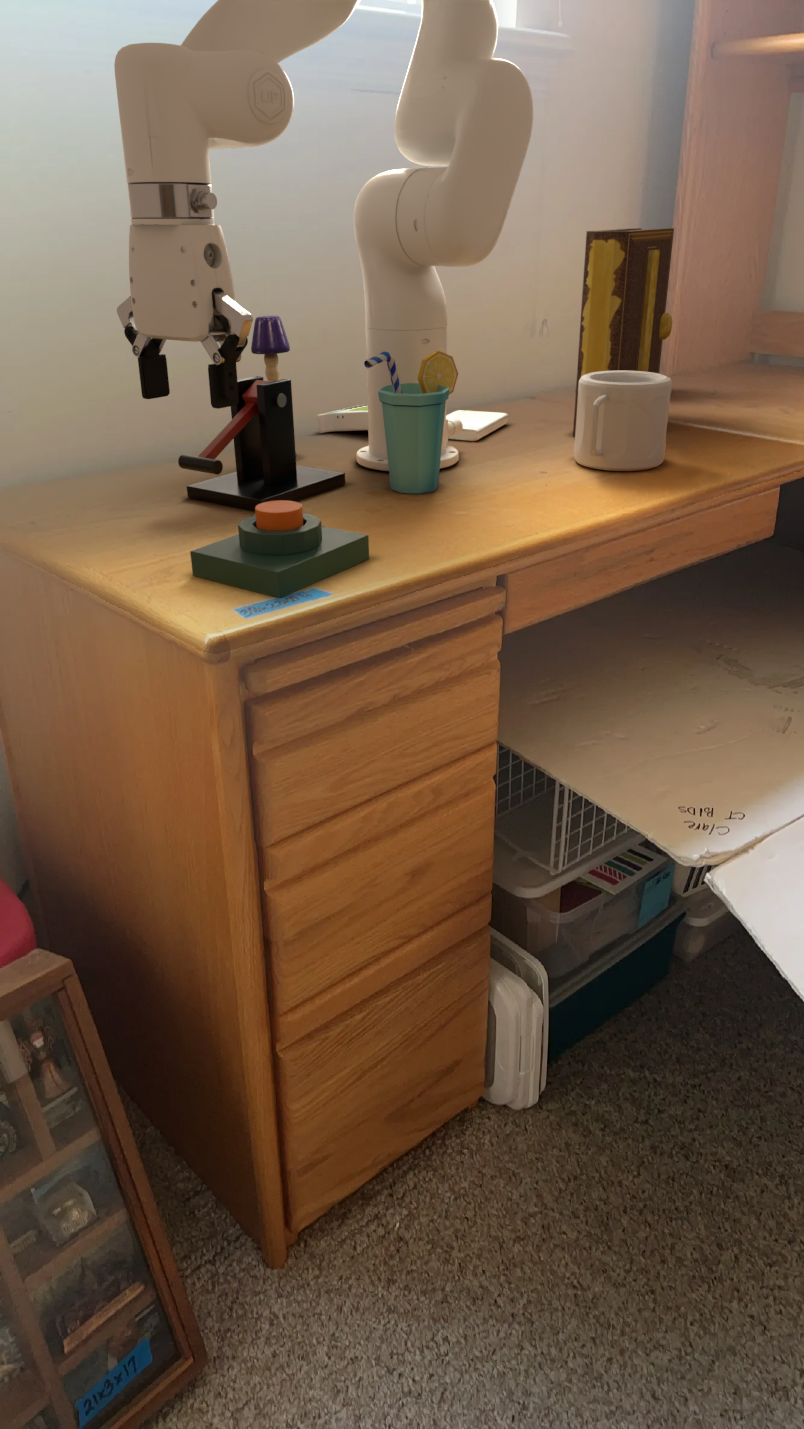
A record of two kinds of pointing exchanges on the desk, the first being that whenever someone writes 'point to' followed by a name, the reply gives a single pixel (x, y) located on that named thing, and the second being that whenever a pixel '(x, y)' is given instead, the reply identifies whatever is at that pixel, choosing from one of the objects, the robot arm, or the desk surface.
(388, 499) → the desk surface
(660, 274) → the book
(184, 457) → the lever
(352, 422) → the handheld gaming console
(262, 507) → the button
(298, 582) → the control block
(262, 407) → the bracket
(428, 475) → the cup
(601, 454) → the mug
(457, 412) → the hard drive
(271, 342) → the toy lamp
